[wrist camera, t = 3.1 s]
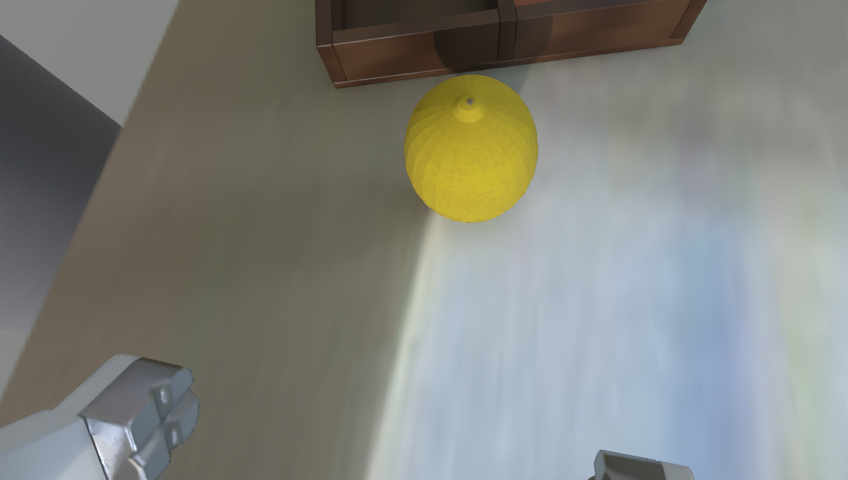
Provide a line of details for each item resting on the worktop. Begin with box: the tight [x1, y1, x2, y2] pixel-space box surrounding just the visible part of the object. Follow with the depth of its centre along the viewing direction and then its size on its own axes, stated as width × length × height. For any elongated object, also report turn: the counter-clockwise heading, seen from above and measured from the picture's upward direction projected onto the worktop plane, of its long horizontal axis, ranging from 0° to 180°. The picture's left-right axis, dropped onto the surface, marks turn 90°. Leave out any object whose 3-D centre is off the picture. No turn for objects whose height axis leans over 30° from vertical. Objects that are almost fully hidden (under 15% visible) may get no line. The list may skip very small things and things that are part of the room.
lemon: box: [404, 75, 538, 223], centre depth 21 cm, size 6×6×8 cm
